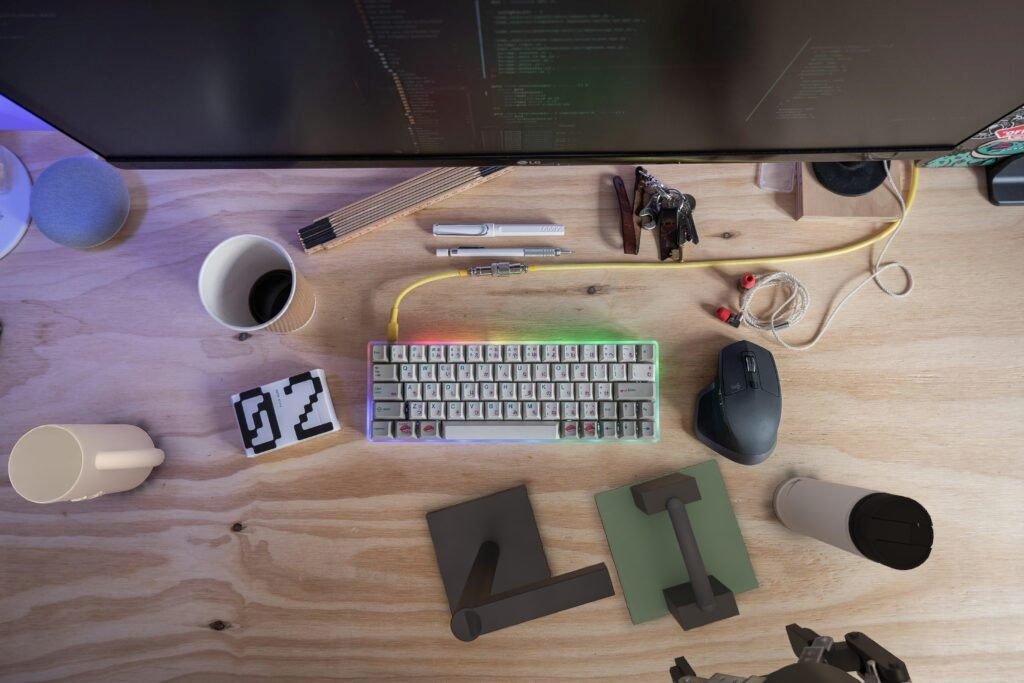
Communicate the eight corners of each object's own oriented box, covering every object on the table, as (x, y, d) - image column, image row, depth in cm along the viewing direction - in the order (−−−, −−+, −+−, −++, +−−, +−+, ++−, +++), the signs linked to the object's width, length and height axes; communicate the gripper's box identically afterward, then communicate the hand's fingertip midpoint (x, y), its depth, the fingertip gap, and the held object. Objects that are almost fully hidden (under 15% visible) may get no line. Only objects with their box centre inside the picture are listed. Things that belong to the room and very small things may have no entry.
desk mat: (758, 586, 69) (759, 587, 68) (633, 624, 69) (633, 625, 68) (715, 459, 71) (716, 459, 71) (594, 495, 71) (594, 495, 70)
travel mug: (771, 472, 71) (866, 490, 51) (828, 480, 70) (945, 501, 51) (767, 526, 70) (861, 566, 50) (824, 535, 69) (942, 578, 50)
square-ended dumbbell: (718, 595, 68) (745, 619, 60) (668, 610, 68) (688, 636, 60) (678, 472, 71) (698, 478, 62) (629, 486, 70) (643, 494, 62)
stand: (595, 573, 70) (637, 665, 43) (454, 615, 69) (408, 734, 43) (565, 472, 71) (587, 500, 45) (427, 512, 71) (366, 565, 44)
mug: (187, 490, 72) (120, 503, 60) (89, 494, 72) (3, 507, 61) (189, 421, 73) (124, 421, 61) (93, 425, 74) (10, 425, 62)
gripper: (738, 913, 27) (660, 734, 43) (1035, 824, 27) (849, 679, 44) (686, 740, 28) (629, 628, 44) (972, 656, 29) (813, 575, 45)
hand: (738, 654), depth 44 cm, fingers open, 8 cm apart
